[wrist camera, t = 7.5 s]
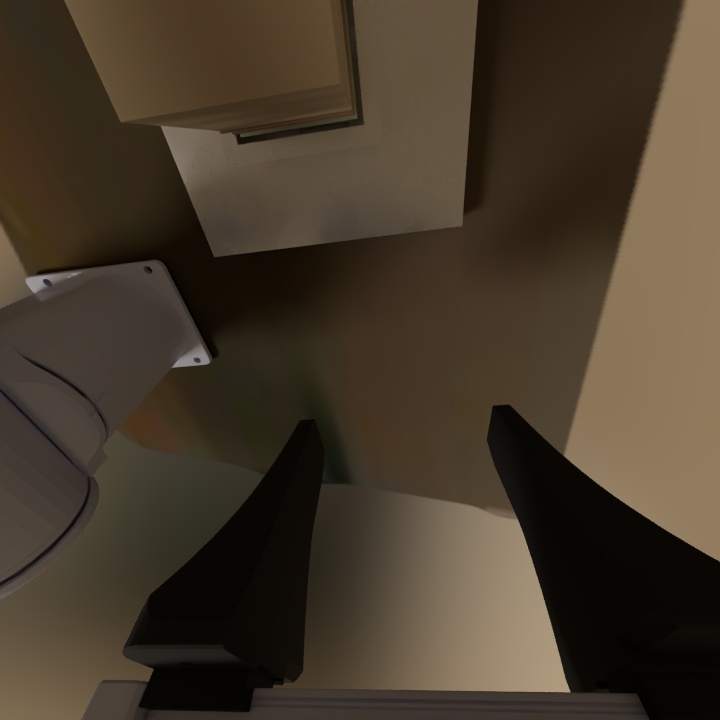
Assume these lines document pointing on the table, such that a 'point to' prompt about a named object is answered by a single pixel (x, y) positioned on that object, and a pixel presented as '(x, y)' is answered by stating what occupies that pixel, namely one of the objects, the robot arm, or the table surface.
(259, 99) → the post
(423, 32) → the jack base
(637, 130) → the table surface
